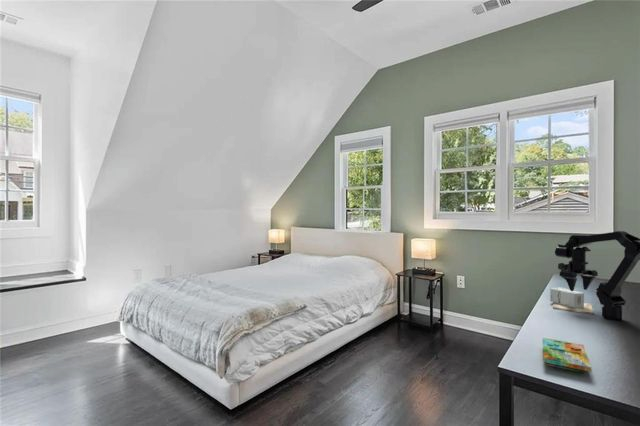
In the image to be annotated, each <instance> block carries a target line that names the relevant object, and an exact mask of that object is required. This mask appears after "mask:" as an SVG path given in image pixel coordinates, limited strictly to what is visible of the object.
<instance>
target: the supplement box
mask: <svg viewBox="0 0 640 426" xmlns="http://www.w3.org/2000/svg"><path fill="white" fill-rule="evenodd" d="M549 291H550V292H549V293H550V294H549V295H550V298H549V300H550V301H549V302H550V303H551V302H552V303H553V302H555V303H558V304H562V305H565V306H569V307H572V308H578V307H584V303H585V293H584V292H581V291H577V290H573V291H570V288H569V289H567V288H564V287H561V286H560V287H551V288H550V289H549Z"/></svg>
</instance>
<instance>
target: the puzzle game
mask: <svg viewBox="0 0 640 426" xmlns="http://www.w3.org/2000/svg"><path fill="white" fill-rule="evenodd" d="M542 361H543V363H545V364H546V365H547V366H550V367H554V368H557V369H558V368H559V369H563V370H568V371H574V372H577V373H580V374H585V373H587V372H590V373H591V372H592V365H591V362H590V359H589V357H588V355H587V351H586V348H585V345H584V344H580V343H576V342H575V343H574V342H568V341H565V340H559V339H551V338H545V337H542Z"/></svg>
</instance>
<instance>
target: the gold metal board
mask: <svg viewBox="0 0 640 426" xmlns="http://www.w3.org/2000/svg"><path fill="white" fill-rule="evenodd" d="M552 309H554V310H561V311H566V312H567V311H568V312H575V313H583V314H589V315H595V314H594V310H593V306H592V303H586V302H584V307H578V308H572V307H569V306H565V305H562V304H558V303H555V302H552Z"/></svg>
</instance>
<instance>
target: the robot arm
mask: <svg viewBox="0 0 640 426" xmlns="http://www.w3.org/2000/svg"><path fill="white" fill-rule="evenodd" d="M610 241H617V242H618V243H619V244H620V245H621V246H622V247H623V248H624V254H623V255H624V256H623V258H622V260H621V261H620V263H619V264H618V266H617V268H616V269H615V271H614V272H613V273H612V275H611V277H610V279H609V280H608V281H607V282H600V283H599V284H598V286H597V288H596V289H595V291H596V292H595V294H596V297H597V298H598V301H599V304H600V305H601V316H602V317H603V319H604V320H605V319H606V320H611V321H612V320H613V321H619V322H623V321H624V319H623V306H625V305H626V303H627V301H626V300H625V299H624V298H623V297H622V294H621V293H622V285H624V283H625V282H626V280H627V278H628V277H629V275H630V274H631V273H632V272H633V270H634V269H635V267H636V265H637V264H638V262H640V238H639V237H638V236H635V235H632V234H630V233H629V232H626V231H625V230H616V231H611V232H605V233H603V232H602V233H598V234H597V233H596V234H572V235H570V237H569V238H568V241H567V242H566V243H565V244H557V247H555V250H554V254H555V256H556V257H557V258H564V259H570V260H569V261H568V263H566V264H565V263H563V262H560V263H558V265H557V269H558V270H560V271H559V277H561V278H562V279H563V280H565V281H566V283H567V286H568V288H569V290H570V291H575V287H576V283H577V280H578V278H577V276H580V277H581V279H582V286H583V287H582V288H583V290H584V291H587V290H588V288H589V287H590V285H591V284H592V282H593V281H594V280H595V279H596V277H598V274H599V273H598V271H597V270H595V269H589V268H587V265H588V264H589V261H587V257H586V256H587V254H586V252H588V253H589V252H591V251H592V250H591V249H590V248H589V247H588V245H591V244H595V243H601V242H603V243H604V242H610Z"/></svg>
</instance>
